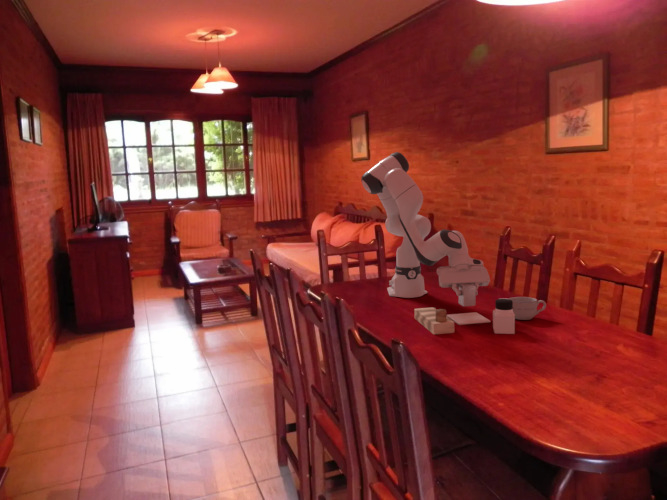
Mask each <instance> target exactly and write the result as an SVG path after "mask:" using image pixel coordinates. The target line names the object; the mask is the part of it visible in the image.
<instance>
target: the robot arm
mask: <svg viewBox="0 0 667 500" xmlns="http://www.w3.org/2000/svg"><path fill="white" fill-rule="evenodd" d="M409 170H410V164H409V162H408V159H407V158H406V156H405V155H404V154H402V153H401V152H399V151H396V152H393V153H391V154H390V155H388V156H387V157H384V158H383V159H381V160H379V161H378V162H377V163H376V164H375V165H374V166H372V167H371V168H370V169H369V170H368V171H366V172H365V173H363V175H362V176H361V181H360V182H361V184H362V187H363V189H364V190H365V191H366V192H368V193H369V194H370V195H377V197H378V199H379V201H380V203H381V204H382V207H383V208H384V210H385V214H386V220H385V223H384V227H385V229H386V231H387V232H388V233H389V234H392V235H394V236H397V237H403V239H402V242H401V245H399V246H398V247H397V248H396V252H395V253H396V254H395V255H396V258H395V259H396V265H395V268H394V272H395V273H394V275H393V276H392V278H391V280H388V283H389V284H388V285H389V287H387V288H386V289H387V292H388V295H389V297H396V298H397V297H399V298H404V299H405V298H406V299H410V298H411V299H412V298H419V297H422V296H424V295H426V294H428V291H427V290H425V289H426V288H425V280H424V279H425V277H424V275H422V274H421V273H422V271H421V270H422V267H421V264H422V265H425V266H429V267H430V266H431V267H432V266H434V265H435V264H436V263H438V262H439V261H440V260H442V259H443V258H444V257H445V256H448V265H447V266H443V265H442V266H439V267H437V268H436V274H437V276H438V285H439V287H441V288H445V289H446V288H452V290H453V291H454V292H455V293H456V296H457V297H459V296H461V290H459V284H465V283H471V284H473V285H475V286H476V296H478V295H479V292H478V289H479V287H487V286H489V283H490V282H491V278H490V274H489V272H488V270H487V268H486V267H485V266H484V261H483V260H481V259H477V258H472V257H471V256H470V254H469V248H468V245H467V242H466V239H465V237H464V234H462V233H461V232H460V231H459V230H450V229H444V228H443V229H441V230H439V231H437V232H436V233H435V234H433V235H432V236H431V237H430V238H428V239H427V240H425V239H426V237H428V235H429V234H430V232H431V231H432V230H431V229H432V224H431V221H430V220H431V219H429V218H428V217H426V216H424V215H421V214H418V213H419V212H420V210H421V208H422V206H423V203H424V194H423V192H422V190H421V189H420V187H419V186H418V184H417V183H416V182H415V180H414V179H413V178H412V177H411V176H410V175H409V174H408V171H409Z"/></svg>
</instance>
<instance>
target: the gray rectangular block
mask: <svg viewBox="0 0 667 500" xmlns="http://www.w3.org/2000/svg"><path fill="white" fill-rule="evenodd" d="M458 290H461V296H458V304H459V305H460V306H462V307H474V306H476V305H477V303H476V300H477V299H476V297H477V295H476V286H475V285H473V284H471V283H465V284H459V287H458Z"/></svg>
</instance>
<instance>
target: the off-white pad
mask: <svg viewBox="0 0 667 500" xmlns="http://www.w3.org/2000/svg"><path fill="white" fill-rule="evenodd" d="M446 317H448V318H449V319H450V320H452V321H453V322H454V323H456V324H457V325H459V326H463V325H472V324H473V325H474V324H484V323H491V320H490V319H488V318H487V317H485V316H483V315H482V314H480V313H478V312H476V311H475V312H464V313H463V312H461V313H451V314H446Z"/></svg>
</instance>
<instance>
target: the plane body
mask: <svg viewBox="0 0 667 500" xmlns="http://www.w3.org/2000/svg"><path fill="white" fill-rule="evenodd" d="M413 312H414V315H413V316H414V320H416V321H417V322H418V323H419V324H420V325H422V326H423V327H424V328H425V329H427V331H428V332H430V333H431V334H432V335H443V334H454V333H455V322H454V321H453V320H451V319H450V318H449V317H447V316H446V315H447V309H445V308H439V309H436V307H432V306H431V307H419V308H414V310H413Z"/></svg>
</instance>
